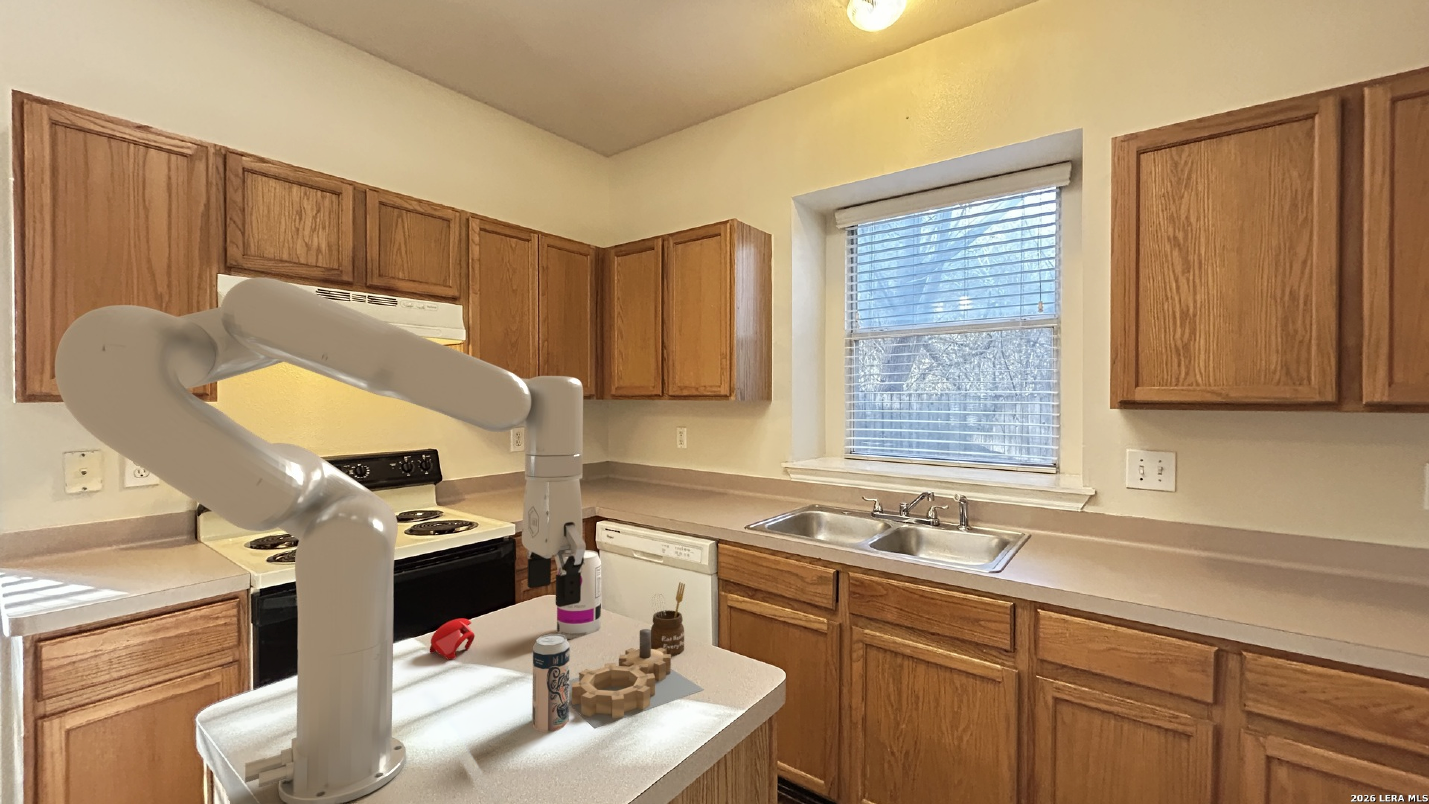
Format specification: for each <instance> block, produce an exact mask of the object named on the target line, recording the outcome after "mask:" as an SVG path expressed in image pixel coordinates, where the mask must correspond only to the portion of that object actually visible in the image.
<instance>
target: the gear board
mask: <svg viewBox="0 0 1429 804" xmlns="http://www.w3.org/2000/svg"><path fill="white" fill-rule="evenodd" d="M578 681H579V677H576V678H573V679H569V707H571V708H573V710H575V711H576V712H577V714H579V715H580V716H581V717H582V718H583V719H584V720H585V721H586V722H587V723H589V724H590V726H592V728H594V729H597V728H600V727H603V726H605V725H609V724H611V723H614V722H617V721H619V720H623V719H625V718H629V717H631V716H635V715H637V714H640V713H642V712H645V711H648V710H651V709H654V708H657V707H660V706H662V705H666V704H669V703H671V702H674V701H677V700H680V699H683V698H685V697H688V696H691V695H694V694H697V693H699V692H703V691H705V689H704V688H703V687H701V686H699V685H698V684H696V683H695V682H693V681H691V679H689V678H687V677H685V676H683V675H682V674H680V673H678V672H677V671H675V670H674V669H672V668H671V674H666V679H663V680H661V681H657V680H655V695H651V696H650V706H648V707H647V708H646V709H644V710H641V709H638V708H635V709H632V710H629V711H626V712H624V717H620V718H612V715H611V714H603V713H595V714H594V715H592V716H591V717H589V716H586V715H583V714H581V704H576V705H572V682H578ZM625 688H628V687H614V686H611V687H607V688H604V689H601V690H606V691H619V690H622V689H625Z"/></svg>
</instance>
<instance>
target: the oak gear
mask: <svg viewBox="0 0 1429 804" xmlns="http://www.w3.org/2000/svg"><path fill="white" fill-rule="evenodd" d="M578 675H579V676H578V678H579V681H578V682H572V705H576V704H581V714H583V715H586V716H589V717H591V716H592V715H594V714H595V713H603V714H611V715H612V718H620V717H624V712H626V711H629V710H632V709H635V708H638V709H641V710H644V709H646V708H647V707H648V706H650V696H651V695H655V676H654V673H651V674H645V673H643V672H642V671H641V666H640V667H639V665H637V664H633V665H632V666H630V667H626V666H619V665H616V662H609V663H604V667H600V668H598V669H597V668H596V669H593V670H591V669H588V668H586V669H584V670H582V671H580V672H579V674H578ZM611 686H614V687H628V688H625V689H622V690H619V691H606V690H601V689H604V688H607V687H611Z"/></svg>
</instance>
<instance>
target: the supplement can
mask: <svg viewBox="0 0 1429 804" xmlns="http://www.w3.org/2000/svg"><path fill="white" fill-rule="evenodd" d="M600 558H601V557H600V556H599V553H598V552H597V551H594V550H590V549H589V550H587V549H585V553H584V562H583V564H582V568H583V569H582V572H581V601H580V602H579V603H576V604H572V605H567V606H562V607H558V606H557V605H556V632H557V634H560V635H564V636H565V637H566V639H567V640H574V639H578V638H581V637H583V636H587V635H590V634H593V633H596V632H599V631H600V630H601V623H602V622H601V621H602V620H601V619H602V613H601V612H602V611H601V610H602V604H601V601H602V561H601V559H600ZM567 559H568V557H566V558H563V560H564V564H565V563H566V561H567ZM558 574H559V571H558V570H557V574H556V575H558Z"/></svg>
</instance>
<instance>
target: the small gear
mask: <svg viewBox="0 0 1429 804" xmlns="http://www.w3.org/2000/svg"><path fill="white" fill-rule="evenodd" d="M633 664H637V665H639V667H640V666H641V671H642V672H643V673H645V674H651V673H654V676H655V680H657V681H661V680H663V679H666V674H671V669H672V667H671V666H672V656H671V654H667V650H666V649H663V648H659V649H656V650H655V649H651V629H648V628H645V629H644V628H642V629H640V630H639V649H635V648H633V647H632V648H628V649H625V651H624V654H619V656H618V666H626V667H630V666H632V665H633Z"/></svg>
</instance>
